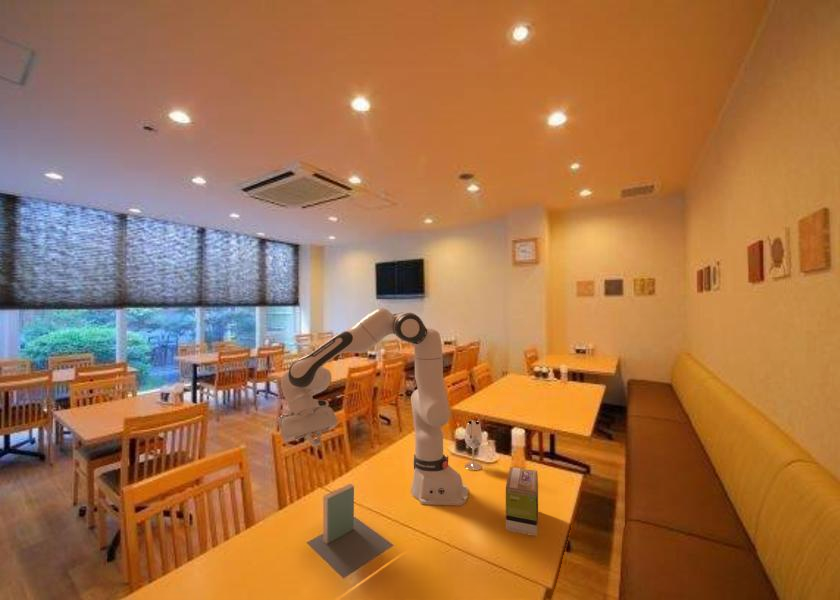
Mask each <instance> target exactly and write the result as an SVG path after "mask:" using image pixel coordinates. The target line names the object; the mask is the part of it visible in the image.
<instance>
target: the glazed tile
mask: <svg viewBox="0 0 840 600" xmlns="http://www.w3.org/2000/svg"><path fill="white" fill-rule="evenodd" d="M322 497H323V499H322V500H323V503H322V504H323V519H322V521H323V523H322V525H323V527H322V528H323V529H322V530H323V531H322V532H323V533H322V534H323V541H324V542H325V543H326V544H327V543H329V542H331V541H333V540H335V539H336V538H338V537H340V536H342V535H344V534H345V533H347V532H349V531H351V530H353V529H354V517H355V486H354V485H353V484H351V483H348V484H346V485H344V486H342V487H340V488H337V489H335V490H333V491H330V492H329V493H326V494H324V495H323V496H322Z"/></svg>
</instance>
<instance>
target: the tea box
mask: <svg viewBox="0 0 840 600" xmlns="http://www.w3.org/2000/svg"><path fill="white" fill-rule="evenodd" d="M538 477H539V475H538V470H534V469H529V468H528V469H526V468H521V467H520V468H519V467H512V466H510V467H509V471H508V475H507V480H506V484H505V530H506V531H508V530H509V532H514V531H515V532H514V533H517V532H519V533H518V534H522V533H525V534H524V535H527V534H530V535H529V536H532V535H536V536H535V537H538V524H539V523H538V522H539V478H538Z"/></svg>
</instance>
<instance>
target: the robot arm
mask: <svg viewBox="0 0 840 600" xmlns="http://www.w3.org/2000/svg"><path fill="white" fill-rule="evenodd" d="M390 335H395V336H396V337H397V338H398V339H400V340H401V341H403V342H405V343H411V344H413V349H414V378H415V382H416V383H415V384H416V388H417V389H415V390H414V391H413V392H412V393H411V396H410V403H411V404H410V405H411V411H412V421H413V428H414V443H415V444H414V448H415V449H414V455H413V470H414V471H413V479H412V484H411V487H410V494H411V496H413V497H414V498H415V499H417V500H418V501H419V503H420V504H422V505H429V506H430V505H433V506H434V505H436V506H437V505H439V506H462V505H464V504H466V502H467V501H468V498H469V489H468V486H467V485H466V484H465V483H463V479H462V476H461V474H460V473H459V472H458V471H457V470H455V469H454V468H453V467H452V466H450V464H449V456H448V455H447V456H445V454H444V434H443V431H442V427H443V426H445V425H446V424H447V423H448V422H449V420H450V419H451V416H452V414H451V408H450V405H449V403H448V397H447V391H446V386H445V381H444V379H445V378H444V364H443V347H442V346H443V345H442V339H441V336H440V332H438V330H435V329H433V328H427V327H426V326H425V323H424V322H423V320H422V318H421V317H420V316H419V315H417V314H416V313H414V312H411V311H403V312H399V313H394V314H392V312H391V311H390V310H388V309H387V308H384V307H378V308H376V309H374V310H373V311H371V312H369V313H368V314H367V315H365V316H364V317H363V318H361V319H360V320H359V321H358V322H356V323H355V324H354V325H353V326H351V327H350V328H348V329H346V330H344V331H342V332H340V333H338V334H336V335H334V336H333V337H331V338H330V339H328V340H327V341H325V343H323V344H322V345H319V346H318V347H317V348H316V349H314V350H313V351H312V352H310V353H308V354H307V355H304V356H302V357H299V358H296V360H294V361H293V362H292V364H291V365H290V367H289V369H288V370H287V371H285V373H284V374H283V375H282V376H281V379H280V380H281V381H280V387H281V390H282V392H283V396H284V399H285V401H286V402H287V405H288V410H289V412H290V413H286V414H282V415H280V416H279V417H277V420H276V423H277V425H278V427H279V430H280V435H281V439H282V441H283V442H284V443H288V442H292V441H296V440H299V439H302V438H305V440H307V441H308V442H309V443H310V444H311V446H312V448H314V447H318V446H321V445H322V443H323V441H322V439H321V438H322V432H325V431H329V430H333V429H335V427H336V426H337V425H338V423H339V420H338V418H337V417H338V416H337V415H336V414H335V411H334V410H333V408H332V407H330V402H329V401H328V400H325V399H316V398H313V396H315V395H318V394H320V393H323V392H324V391H325V390H327V389H328V388H329V386H330V385H331V382H332V374H331V371H330V370H329V369H328V368H326V367H324V366H325V365H326V364H328V363H329V362H330V361H332V360H333V359H334V358H337V356H339V355H340V354H345V353H358V354H362V353H367V352H368V351H369V350H372V349H373V348H375V346H376V345H378V343H380V342H381V341H382V340H383V339H384V338H386V337H387V336H390ZM313 435H314V436H315V437H316V438H313V437H312V436H313Z"/></svg>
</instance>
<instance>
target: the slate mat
mask: <svg viewBox="0 0 840 600" xmlns="http://www.w3.org/2000/svg"><path fill="white" fill-rule="evenodd" d="M306 544H307V545H308V546H309V547H310V548H311V549H313V550H314V551H315V552H316V553H317V554H318V556H319V557H321V558H322V559H323V560H324V561H325V562H326V563H327V564H328V565H329V566H330V567H331V568H332V569H333V570H334V571H335V572H336V573H338V575H339V576H340V577H341V578H343V579H345V578H347V577H348V576H349V575H351V574H352V573H355V571H357V570H359V569H360V568H361V567H363V566H365V565H366V564H368V563H370V562H371V561H373V560H374V559H375V558H377V557H378V556H380V555H381V554H383V553H384V552H386V551H387V550H389V549H390V548H391V547H393V546H394V544H393V543H391V542H390V541H389V540H387V539H386V538H385V537H384V536H382V535H380V534H379V533H378V532H377V531H375V530H374V529H373V528H371V527H370V526H369V525H367V524H365V523H364V522H363V521H362V520H361V519H359V518H357V517H356V516H354V529H353V530H351V531H349V532H347V533H345V534H344V535H342V536H340V537H338V538H336V539H335V540H333V541H331V542H329V543H327V544H326V543H325V542H324V541H323V533H321V534H320V535H318V536H316V537H314V538H313V539H310V540H309V541H306Z"/></svg>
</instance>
